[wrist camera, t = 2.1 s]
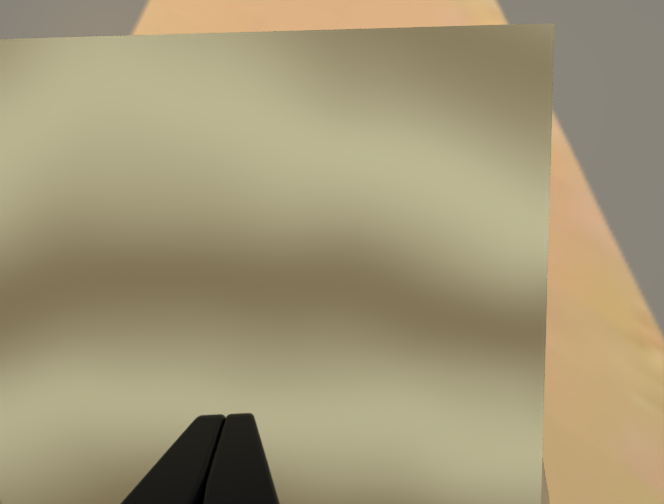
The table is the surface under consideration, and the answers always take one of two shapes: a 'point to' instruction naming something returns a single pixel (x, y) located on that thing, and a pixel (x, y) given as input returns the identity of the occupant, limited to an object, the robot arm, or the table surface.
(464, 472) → the pale yellow square slab
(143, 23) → the table surface
